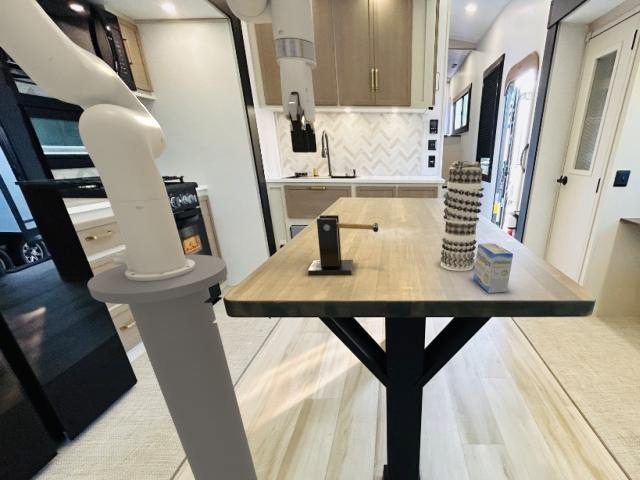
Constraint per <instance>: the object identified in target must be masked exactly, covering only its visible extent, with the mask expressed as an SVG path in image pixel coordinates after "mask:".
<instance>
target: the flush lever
mask: <svg viewBox="0 0 640 480" xmlns="http://www.w3.org/2000/svg"><path fill="white" fill-rule="evenodd" d="M337 228H339V229H351V230H369V231H370V230H371V231H373V232H374V233H378V232H379V223H378V222H374V223H373V224H367V223H350V222H349V223H348V222H339V223H337Z"/></svg>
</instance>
